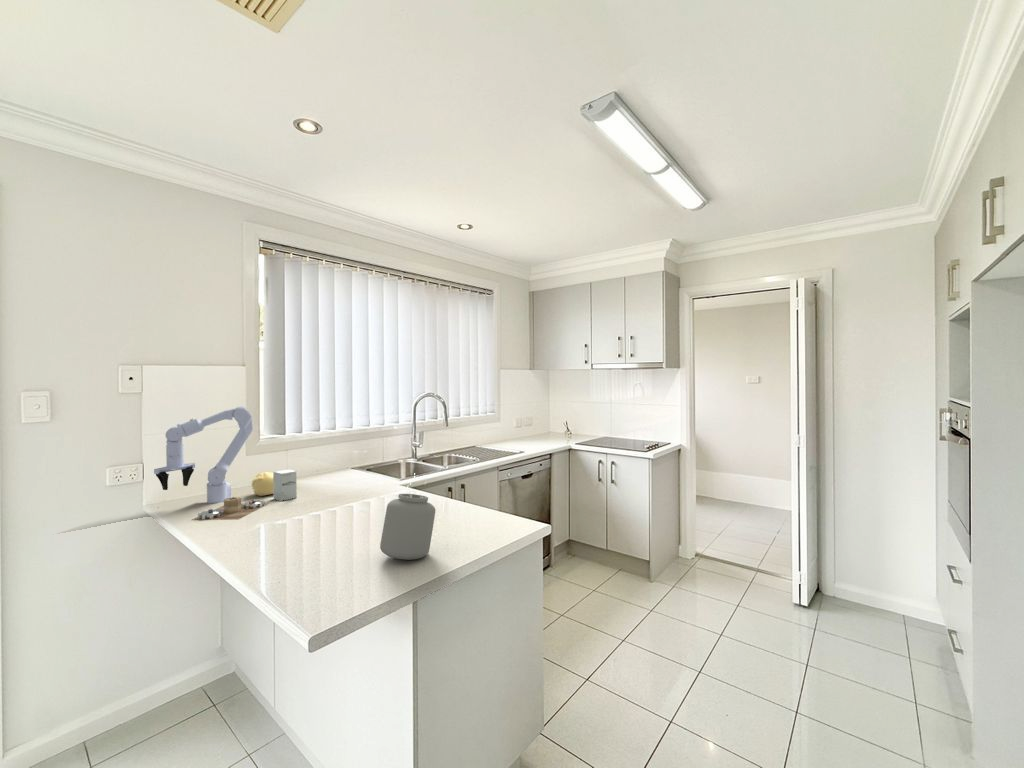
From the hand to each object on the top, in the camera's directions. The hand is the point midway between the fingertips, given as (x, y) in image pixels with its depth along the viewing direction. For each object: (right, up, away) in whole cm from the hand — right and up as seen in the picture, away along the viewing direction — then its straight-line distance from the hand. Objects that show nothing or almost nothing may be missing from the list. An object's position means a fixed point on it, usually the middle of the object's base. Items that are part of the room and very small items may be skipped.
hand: (175, 487), depth 186 cm
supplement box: (+38, -9, +16) cm, 42 cm away
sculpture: (+25, -9, +24) cm, 36 cm away
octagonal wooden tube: (+29, -8, -8) cm, 31 cm away
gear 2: (+34, -8, -1) cm, 34 cm away
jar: (+111, -9, -51) cm, 123 cm away
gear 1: (+25, -8, -14) cm, 30 cm away
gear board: (+29, -9, -8) cm, 31 cm away
